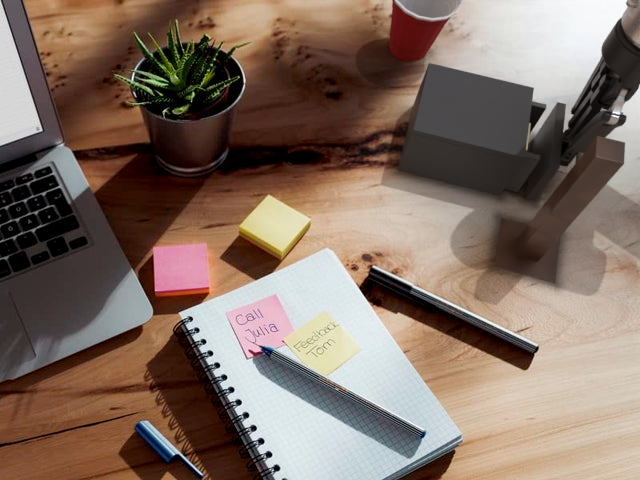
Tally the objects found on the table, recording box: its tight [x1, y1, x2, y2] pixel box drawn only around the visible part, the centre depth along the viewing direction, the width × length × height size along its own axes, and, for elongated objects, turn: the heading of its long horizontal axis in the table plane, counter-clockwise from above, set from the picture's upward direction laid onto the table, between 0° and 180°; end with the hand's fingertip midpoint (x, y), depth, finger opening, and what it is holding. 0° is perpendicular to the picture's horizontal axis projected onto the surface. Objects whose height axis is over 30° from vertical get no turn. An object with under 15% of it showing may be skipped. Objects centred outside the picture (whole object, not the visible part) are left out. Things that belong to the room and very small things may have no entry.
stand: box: [494, 136, 626, 284], centre depth 80 cm, size 8×8×22 cm
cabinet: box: [397, 62, 535, 197], centre depth 93 cm, size 15×13×10 cm
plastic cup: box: [388, 0, 465, 63], centre depth 100 cm, size 11×11×12 cm
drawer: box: [504, 100, 583, 202], centre depth 92 cm, size 18×11×8 cm, turn 73°
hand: (553, 166), depth 93 cm, fingers closed
